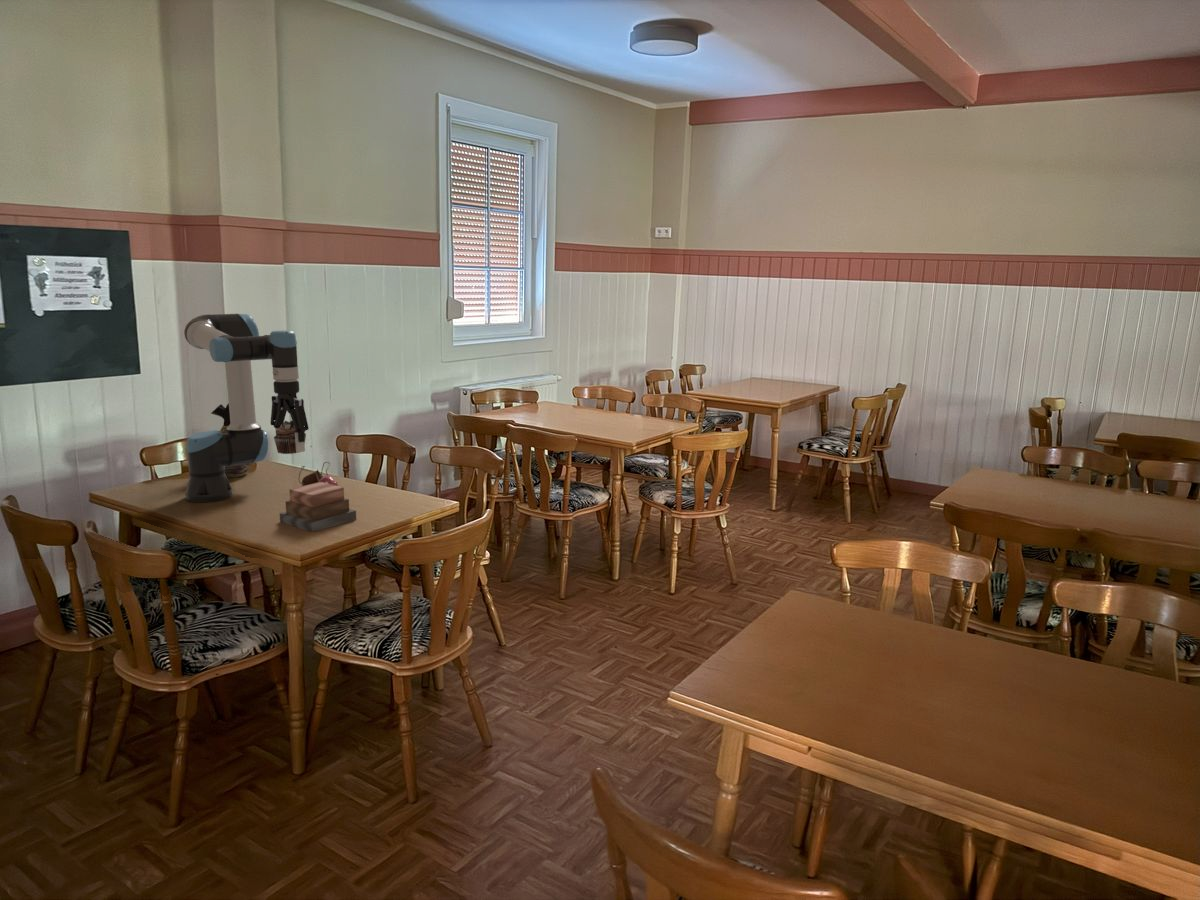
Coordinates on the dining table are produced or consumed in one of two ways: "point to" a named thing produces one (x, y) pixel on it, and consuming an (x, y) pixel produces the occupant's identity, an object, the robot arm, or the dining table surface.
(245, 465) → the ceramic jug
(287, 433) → the cupcake
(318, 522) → the stepped pyramid block
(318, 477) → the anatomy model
